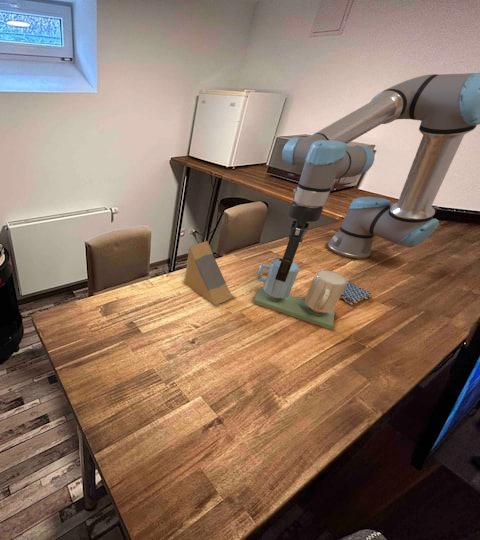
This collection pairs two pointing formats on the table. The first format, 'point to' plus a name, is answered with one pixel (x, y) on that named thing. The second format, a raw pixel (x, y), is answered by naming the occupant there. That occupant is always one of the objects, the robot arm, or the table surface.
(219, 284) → the sandwich container
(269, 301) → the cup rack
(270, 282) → the blue cup
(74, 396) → the table surface
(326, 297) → the cream cup
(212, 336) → the table surface
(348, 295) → the woven mat
